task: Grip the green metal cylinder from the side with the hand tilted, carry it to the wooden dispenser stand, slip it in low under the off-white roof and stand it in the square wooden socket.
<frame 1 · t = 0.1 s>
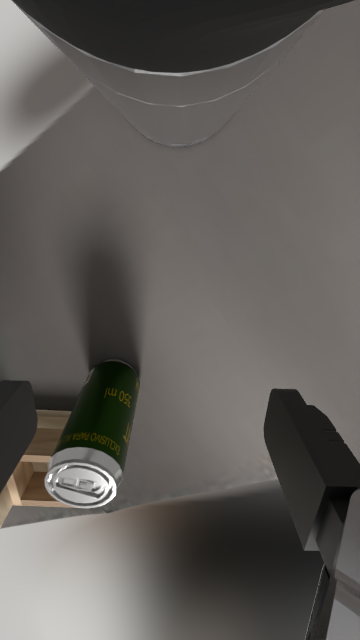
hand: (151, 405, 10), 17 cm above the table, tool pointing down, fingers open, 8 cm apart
wooden dispenser stand: (60, 447, 35), on the table
green metal cylinder: (115, 376, 31), on the table
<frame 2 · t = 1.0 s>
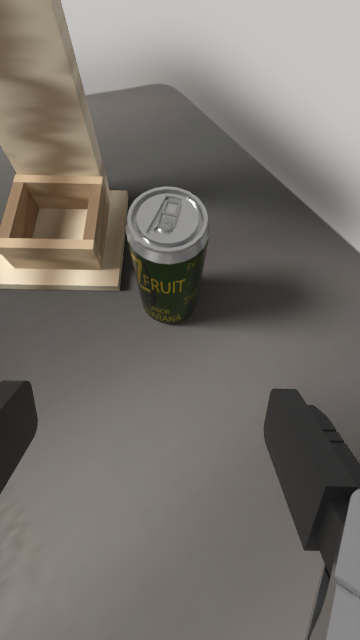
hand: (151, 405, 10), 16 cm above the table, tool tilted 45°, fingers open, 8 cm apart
wooden dispenser stand: (68, 239, 31), on the table
green metal cylinder: (169, 301, 29), on the table
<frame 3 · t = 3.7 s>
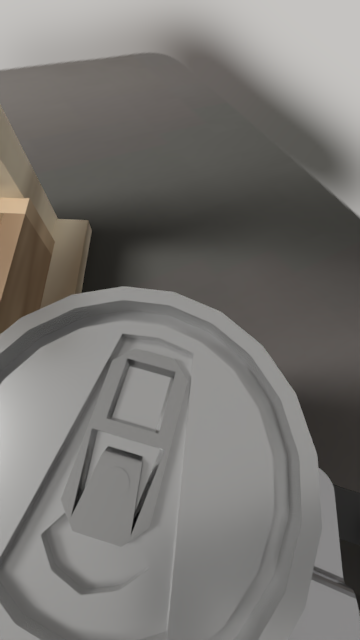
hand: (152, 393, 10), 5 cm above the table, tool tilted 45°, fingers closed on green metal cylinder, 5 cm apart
green metal cylinder: (156, 444, 15), on the table, touching gripper
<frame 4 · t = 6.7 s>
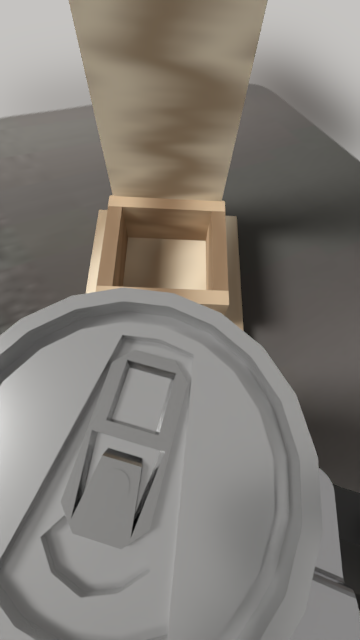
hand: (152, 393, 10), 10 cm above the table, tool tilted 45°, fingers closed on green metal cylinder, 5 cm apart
wooden dispenser stand: (165, 279, 24), on the table
green metal cylinder: (156, 444, 15), point 5 cm above the table, touching gripper
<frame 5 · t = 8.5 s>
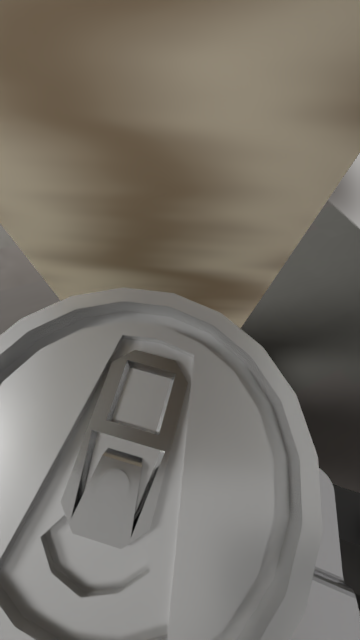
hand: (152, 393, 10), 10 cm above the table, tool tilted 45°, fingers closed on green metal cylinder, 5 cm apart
wooden dispenser stand: (159, 422, 20), on the table
green metal cylinder: (156, 444, 15), point 5 cm above the table, touching gripper
when the fingers open (8 cm above the table, at t = 10.1 s): green metal cylinder drops 1 cm, resting on wooden dispenser stand.
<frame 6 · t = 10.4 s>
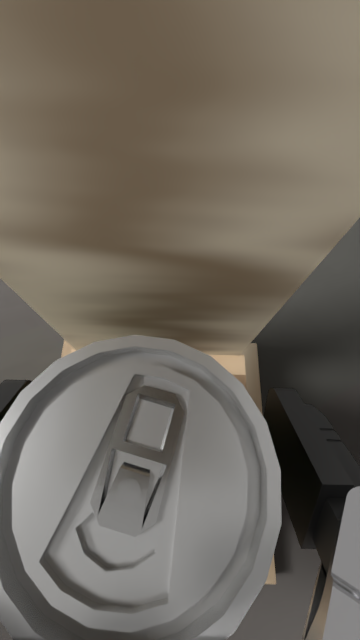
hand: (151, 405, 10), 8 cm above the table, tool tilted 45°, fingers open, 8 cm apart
wooden dispenser stand: (157, 444, 17), on the table
green metal cylinder: (155, 448, 16), point 1 cm above the table, touching wooden dispenser stand
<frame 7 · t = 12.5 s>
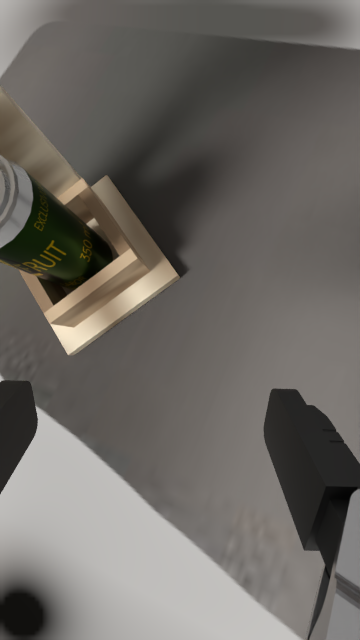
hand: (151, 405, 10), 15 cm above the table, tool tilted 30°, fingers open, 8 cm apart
wooden dispenser stand: (93, 265, 27), on the table
green metal cylinder: (89, 265, 27), point 1 cm above the table, touching wooden dispenser stand
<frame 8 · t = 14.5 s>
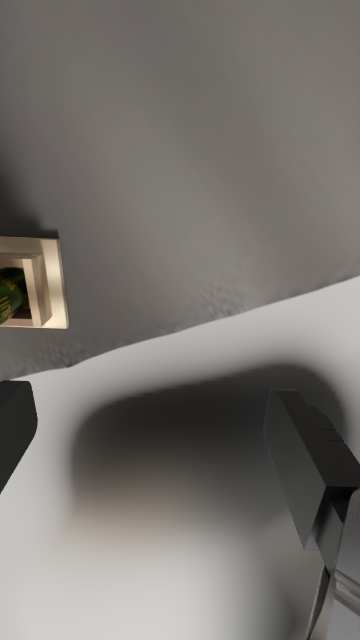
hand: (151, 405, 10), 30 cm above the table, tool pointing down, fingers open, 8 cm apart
wooden dispenser stand: (19, 283, 39), on the table
green metal cylinder: (17, 285, 38), point 1 cm above the table, touching wooden dispenser stand
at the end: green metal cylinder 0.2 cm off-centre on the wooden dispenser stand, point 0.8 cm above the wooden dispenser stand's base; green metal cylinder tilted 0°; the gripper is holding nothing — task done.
